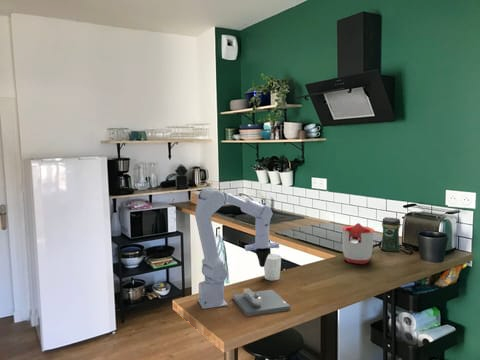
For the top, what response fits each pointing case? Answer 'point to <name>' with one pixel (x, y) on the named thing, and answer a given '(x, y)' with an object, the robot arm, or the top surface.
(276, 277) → the white cup
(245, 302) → the plate
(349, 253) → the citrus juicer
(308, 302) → the top surface
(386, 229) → the coffee jar
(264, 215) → the robot arm
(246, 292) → the lever
